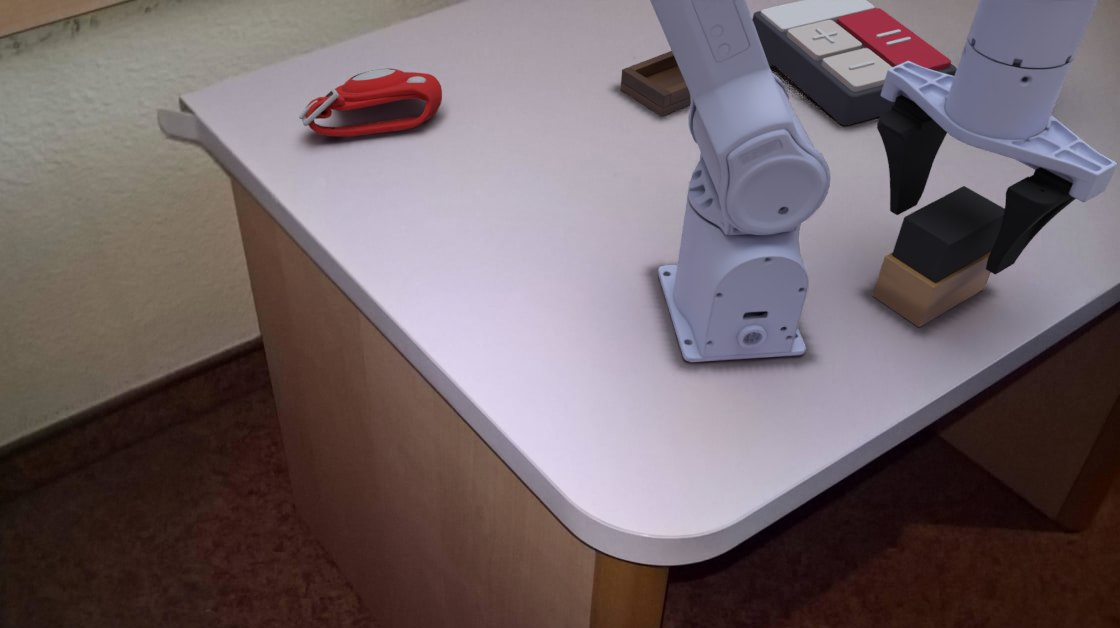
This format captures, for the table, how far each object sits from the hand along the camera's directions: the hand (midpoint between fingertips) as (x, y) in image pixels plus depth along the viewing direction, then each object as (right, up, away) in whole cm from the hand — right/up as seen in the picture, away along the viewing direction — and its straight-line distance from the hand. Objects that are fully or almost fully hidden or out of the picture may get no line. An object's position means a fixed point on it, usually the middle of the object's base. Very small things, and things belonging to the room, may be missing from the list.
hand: (949, 236), depth 68 cm
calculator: (+2, +18, +25) cm, 31 cm away
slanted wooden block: (0, -3, +3) cm, 5 cm away
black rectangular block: (0, -1, +1) cm, 1 cm away
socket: (-14, +16, +24) cm, 32 cm away
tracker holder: (-41, +13, +22) cm, 48 cm away
